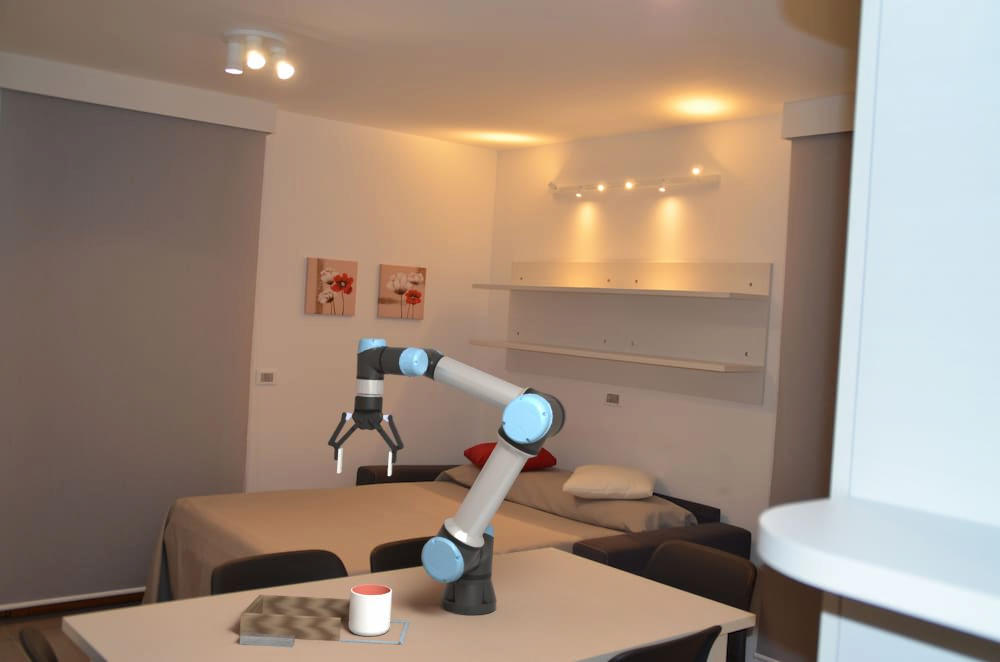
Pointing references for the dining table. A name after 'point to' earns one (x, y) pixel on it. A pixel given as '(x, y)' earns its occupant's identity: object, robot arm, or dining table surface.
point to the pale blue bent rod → (385, 641)
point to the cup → (370, 610)
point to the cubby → (296, 616)
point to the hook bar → (266, 639)
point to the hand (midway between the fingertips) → (364, 474)
